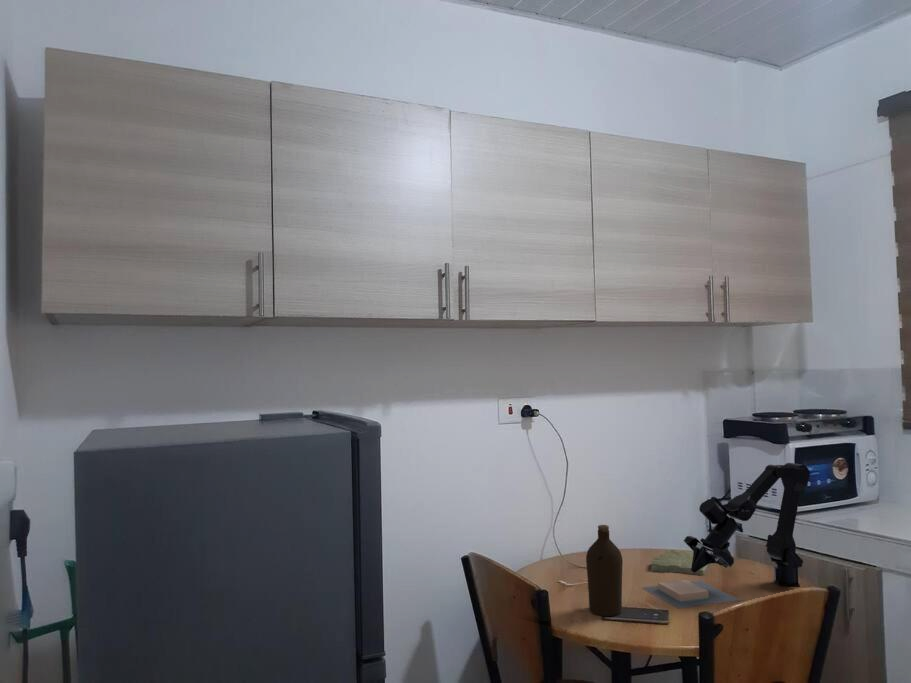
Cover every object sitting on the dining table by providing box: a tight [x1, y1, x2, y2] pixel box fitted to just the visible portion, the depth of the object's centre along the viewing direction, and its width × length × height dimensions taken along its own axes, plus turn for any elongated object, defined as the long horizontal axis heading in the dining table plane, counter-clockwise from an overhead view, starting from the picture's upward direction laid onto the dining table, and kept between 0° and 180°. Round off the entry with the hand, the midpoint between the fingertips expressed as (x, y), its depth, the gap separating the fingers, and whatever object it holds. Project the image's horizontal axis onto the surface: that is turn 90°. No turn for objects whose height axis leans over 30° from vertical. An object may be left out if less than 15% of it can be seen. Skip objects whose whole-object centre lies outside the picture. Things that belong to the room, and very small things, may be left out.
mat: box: [641, 580, 740, 609], centre depth 214 cm, size 22×20×1 cm
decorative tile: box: [650, 549, 712, 576], centre depth 245 cm, size 19×20×4 cm
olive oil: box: [585, 524, 624, 617], centre depth 202 cm, size 11×11×25 cm
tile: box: [657, 578, 709, 603], centre depth 213 cm, size 2×12×10 cm
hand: (692, 571), depth 215 cm, fingers closed
